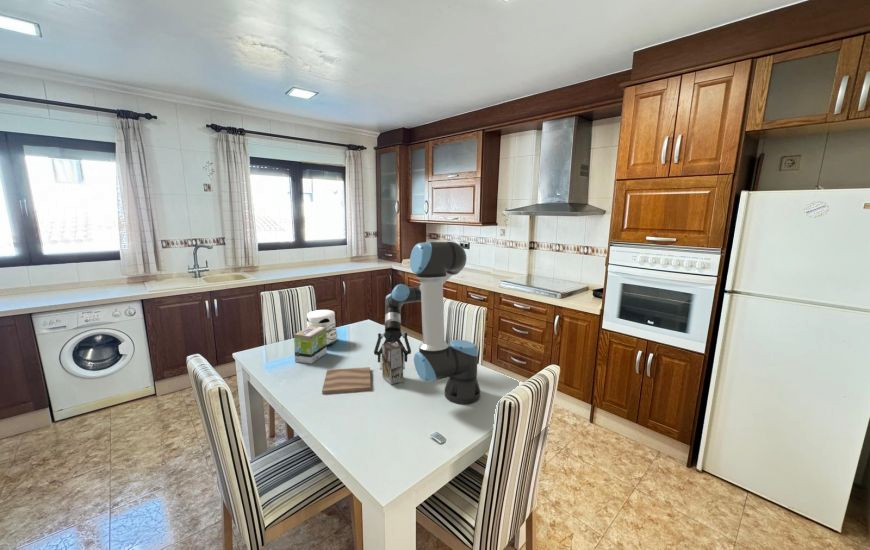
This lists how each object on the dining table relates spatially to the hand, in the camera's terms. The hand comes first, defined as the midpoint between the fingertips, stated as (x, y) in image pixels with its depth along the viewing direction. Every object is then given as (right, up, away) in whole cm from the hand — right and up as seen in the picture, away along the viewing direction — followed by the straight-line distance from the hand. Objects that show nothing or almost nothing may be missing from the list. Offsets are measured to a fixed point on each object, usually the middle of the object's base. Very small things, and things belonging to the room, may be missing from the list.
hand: (392, 368), depth 157 cm
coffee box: (0, -6, +4) cm, 7 cm away
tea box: (-46, -2, +28) cm, 54 cm away
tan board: (-20, -6, +2) cm, 22 cm away
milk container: (-47, +2, +48) cm, 67 cm away
